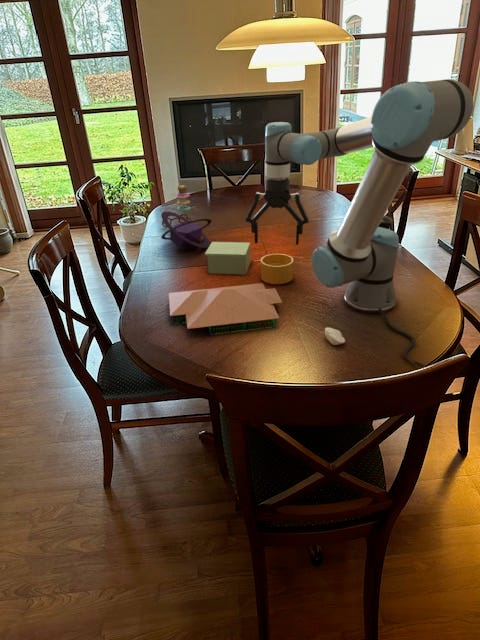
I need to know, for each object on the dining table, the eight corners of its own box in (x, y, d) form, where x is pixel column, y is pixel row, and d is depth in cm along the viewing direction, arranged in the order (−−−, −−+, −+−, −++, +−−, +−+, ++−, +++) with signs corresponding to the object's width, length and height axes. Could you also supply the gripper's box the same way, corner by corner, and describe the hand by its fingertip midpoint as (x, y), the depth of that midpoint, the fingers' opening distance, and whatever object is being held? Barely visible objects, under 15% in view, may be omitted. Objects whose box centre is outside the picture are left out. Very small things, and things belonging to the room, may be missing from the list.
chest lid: (205, 255, 156) (204, 253, 156) (212, 243, 166) (212, 241, 165) (245, 256, 154) (245, 254, 153) (250, 244, 164) (250, 242, 163)
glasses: (187, 222, 210) (186, 212, 207) (200, 230, 200) (200, 219, 198) (162, 228, 204) (160, 218, 201) (174, 236, 194) (173, 225, 192)
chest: (208, 273, 159) (207, 255, 156) (215, 260, 169) (214, 243, 166) (245, 274, 157) (245, 256, 154) (250, 261, 167) (250, 244, 164)
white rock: (319, 338, 121) (321, 325, 120) (336, 339, 122) (339, 325, 121) (330, 348, 114) (333, 334, 113) (348, 348, 116) (351, 334, 114)
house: (288, 326, 126) (289, 301, 122) (172, 340, 122) (168, 315, 118) (270, 291, 145) (270, 268, 141) (170, 302, 141) (167, 278, 137)
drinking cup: (388, 258, 165) (396, 205, 155) (367, 257, 167) (373, 204, 156) (386, 250, 172) (394, 199, 161) (366, 250, 173) (372, 198, 163)
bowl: (291, 286, 148) (292, 267, 145) (259, 285, 150) (258, 265, 146) (293, 272, 157) (294, 254, 154) (262, 271, 159) (262, 253, 156)
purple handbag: (213, 256, 173) (209, 192, 160) (159, 259, 172) (150, 195, 159) (213, 236, 192) (208, 177, 179) (164, 239, 191) (156, 180, 178)
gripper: (318, 174, 137) (314, 239, 148) (239, 174, 141) (241, 237, 152) (318, 180, 131) (314, 248, 142) (235, 179, 135) (237, 245, 146)
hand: (276, 242), depth 147 cm, fingers open, 13 cm apart
